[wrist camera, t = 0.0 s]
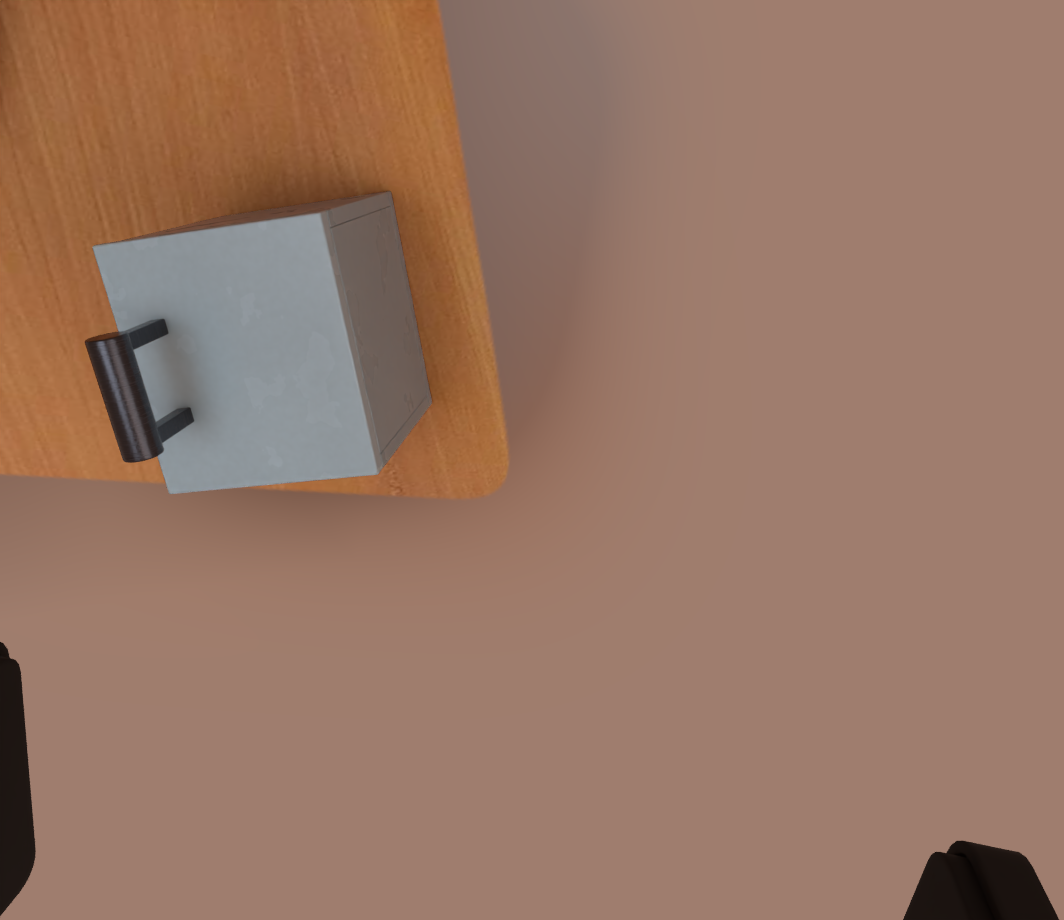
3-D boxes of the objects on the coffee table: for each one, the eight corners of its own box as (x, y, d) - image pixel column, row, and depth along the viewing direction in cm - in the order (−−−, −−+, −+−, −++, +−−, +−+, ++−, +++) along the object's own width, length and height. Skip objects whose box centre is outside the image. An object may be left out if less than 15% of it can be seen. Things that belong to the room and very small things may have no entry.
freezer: (274, 420, 51) (193, 486, 42) (221, 216, 47) (119, 240, 38) (432, 403, 49) (383, 468, 40) (391, 190, 45) (327, 210, 37)
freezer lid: (177, 488, 42) (113, 538, 37) (102, 243, 38) (19, 263, 33) (383, 468, 40) (345, 518, 35) (326, 210, 36) (274, 225, 31)
